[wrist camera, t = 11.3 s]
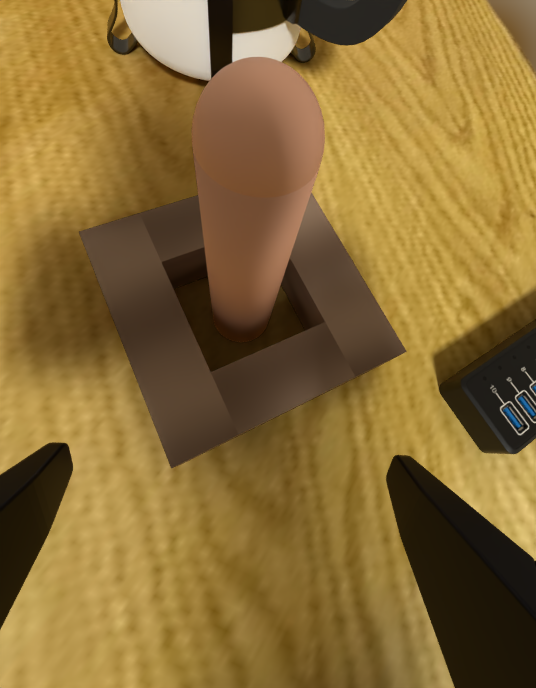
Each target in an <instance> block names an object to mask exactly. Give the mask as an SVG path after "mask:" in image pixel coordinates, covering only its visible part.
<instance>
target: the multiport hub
mask: <svg viewBox="0 0 536 688" xmlns="http://www.w3.org/2000/svg"><path fill="white" fill-rule="evenodd" d="M439 391H440V394H441V395H442V397H443V398H444V400H445V401H446V402H447V404H448V405H449V407H450V408H451V410H452V411H453V412H454V414H455V415H456V417H457V418H458V419H459V421H460V422H461V424H462V425H463V426H464V428H465V429H466V431H467V432H468V434H469V435H470V436H471V438H472V439H473V441H474V442H475V444H476V445H477V446H478V448H479V449H480V450H481V451H482V452H484V453H497V454H517V453H518V452H520V451H521V450H522V449H523V448H525V447H526V446H527V445H528V444H529V443H531V442H532V441H533V440H534V439H536V319H535V320H534V321H533V322H531V323H530V324H528V325H527V326H525V327H524V328H522V329H521V330H519V331H518V332H516V333H515V334H514V335H512V336H511V337H509V338H508V339H506V340H505V341H503V342H502V343H500V344H499V345H497V346H496V347H494V348H493V349H492V350H490V351H489V352H487V353H486V354H484V355H483V356H481V357H480V358H478V359H477V360H475V361H474V362H472V363H471V364H470V365H468V366H467V367H465V368H464V369H462V370H461V371H459V372H458V373H456V374H455V375H453V376H452V377H450V378H449V379H448V380H446V381H445V382H443V383H442V384H441V385H440V387H439Z"/></svg>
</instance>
